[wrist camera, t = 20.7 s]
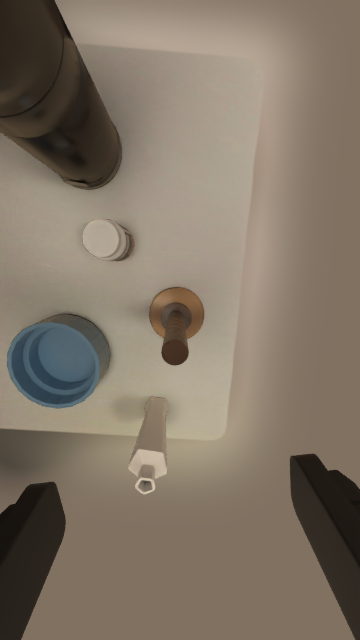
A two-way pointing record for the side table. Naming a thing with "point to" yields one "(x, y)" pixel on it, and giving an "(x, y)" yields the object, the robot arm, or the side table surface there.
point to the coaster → (182, 297)
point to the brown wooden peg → (175, 333)
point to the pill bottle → (107, 240)
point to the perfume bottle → (150, 446)
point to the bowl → (58, 360)
